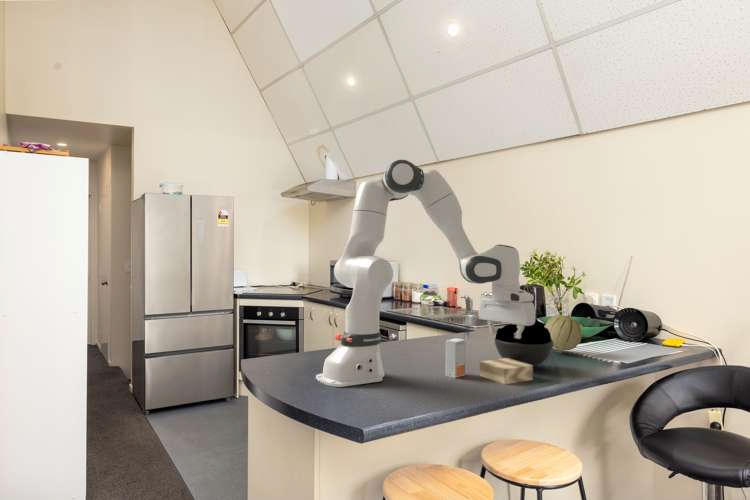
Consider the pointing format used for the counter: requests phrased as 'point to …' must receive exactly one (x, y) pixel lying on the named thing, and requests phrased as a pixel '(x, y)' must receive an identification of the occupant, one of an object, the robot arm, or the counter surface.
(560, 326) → the cantaloupe
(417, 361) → the counter surface
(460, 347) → the skincare box
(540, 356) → the bowl of black rocks
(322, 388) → the counter surface
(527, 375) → the maple block
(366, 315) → the robot arm
